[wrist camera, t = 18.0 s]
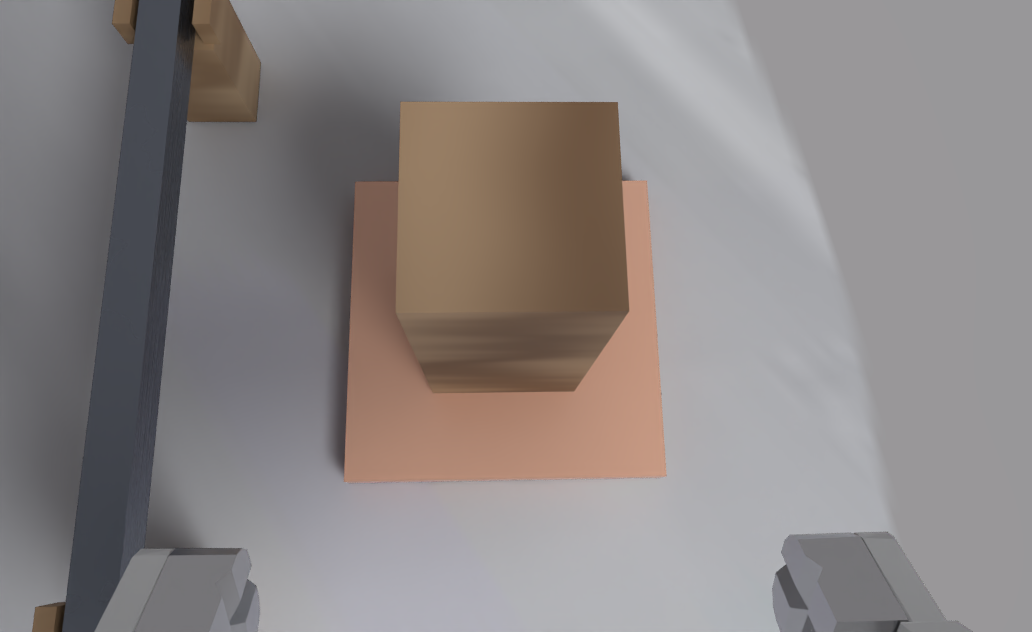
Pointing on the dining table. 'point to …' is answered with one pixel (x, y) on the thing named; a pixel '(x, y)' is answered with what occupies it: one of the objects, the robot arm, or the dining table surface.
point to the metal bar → (133, 314)
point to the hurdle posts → (196, 113)
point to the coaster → (500, 415)
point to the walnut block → (510, 242)
